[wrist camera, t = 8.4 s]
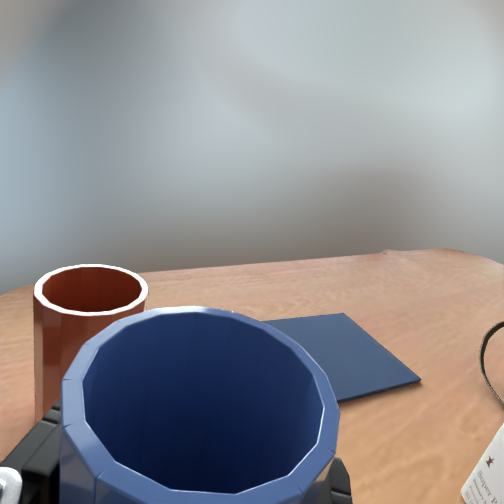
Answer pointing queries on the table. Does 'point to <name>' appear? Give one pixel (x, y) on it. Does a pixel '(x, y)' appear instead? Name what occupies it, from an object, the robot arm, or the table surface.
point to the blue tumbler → (194, 414)
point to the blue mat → (346, 355)
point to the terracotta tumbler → (76, 318)
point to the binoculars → (482, 350)
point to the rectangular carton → (487, 475)
